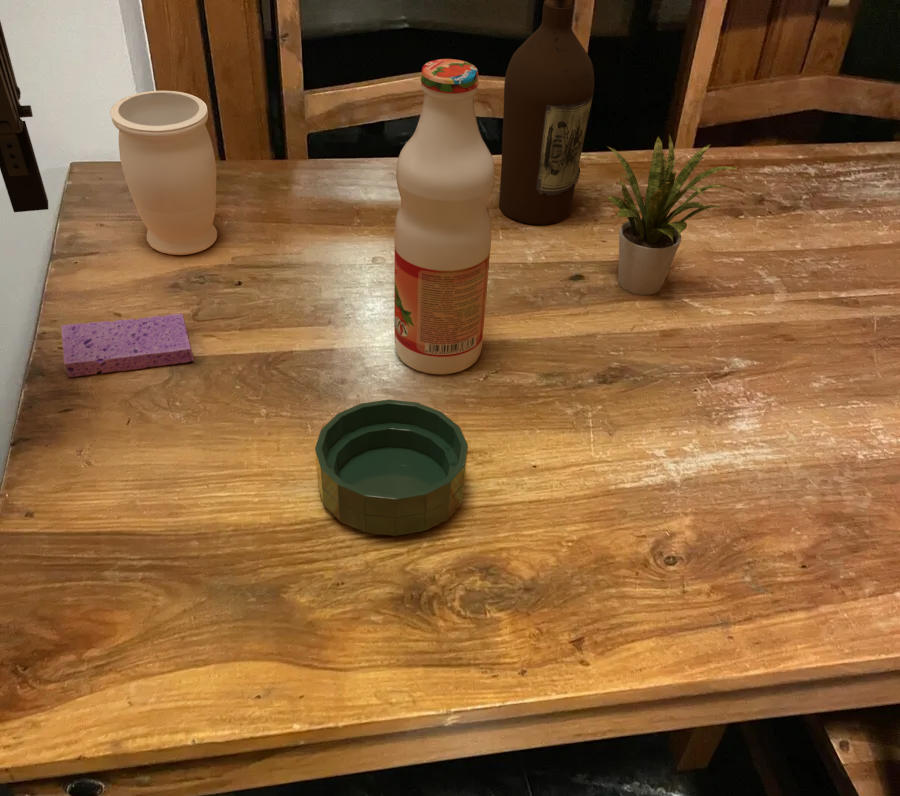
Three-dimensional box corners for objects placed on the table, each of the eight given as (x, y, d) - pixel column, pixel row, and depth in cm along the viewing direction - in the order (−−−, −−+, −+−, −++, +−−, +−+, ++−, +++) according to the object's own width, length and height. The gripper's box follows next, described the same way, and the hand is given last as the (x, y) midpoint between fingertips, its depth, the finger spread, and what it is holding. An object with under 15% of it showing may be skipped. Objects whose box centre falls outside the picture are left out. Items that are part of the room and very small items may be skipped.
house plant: (732, 307, 108) (776, 166, 96) (631, 331, 104) (662, 187, 92) (665, 248, 117) (698, 111, 104) (569, 267, 113) (591, 127, 100)
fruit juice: (456, 387, 96) (475, 100, 75) (377, 359, 99) (373, 74, 77) (496, 342, 102) (523, 63, 81) (420, 316, 104) (427, 39, 83)
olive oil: (478, 201, 123) (493, -19, 104) (539, 181, 127) (565, -32, 108) (529, 236, 117) (555, 11, 98) (591, 214, 122) (628, -5, 103)
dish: (336, 551, 80) (333, 509, 76) (307, 453, 88) (303, 411, 85) (481, 526, 83) (486, 484, 79) (441, 433, 91) (443, 391, 87)
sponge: (65, 340, 98) (61, 324, 97) (187, 325, 101) (184, 310, 100) (67, 379, 94) (62, 363, 93) (194, 363, 97) (191, 347, 95)
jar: (134, 222, 115) (105, 93, 104) (218, 213, 117) (199, 85, 106) (143, 266, 108) (114, 133, 97) (233, 255, 111) (214, 124, 100)
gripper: (-18, -125, 57) (80, 241, 75) (-12, -173, 65) (75, 167, 83) (-154, -123, 55) (-20, 250, 73) (-130, -173, 63) (-15, 174, 81)
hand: (31, 206), depth 78 cm, fingers closed
